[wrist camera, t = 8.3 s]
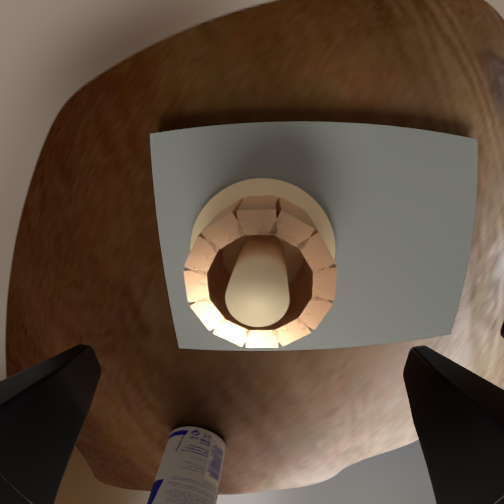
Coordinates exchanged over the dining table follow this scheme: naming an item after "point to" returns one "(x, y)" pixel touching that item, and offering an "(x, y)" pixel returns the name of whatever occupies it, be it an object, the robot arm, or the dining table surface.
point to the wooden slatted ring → (300, 289)
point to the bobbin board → (324, 224)
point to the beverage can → (189, 468)
